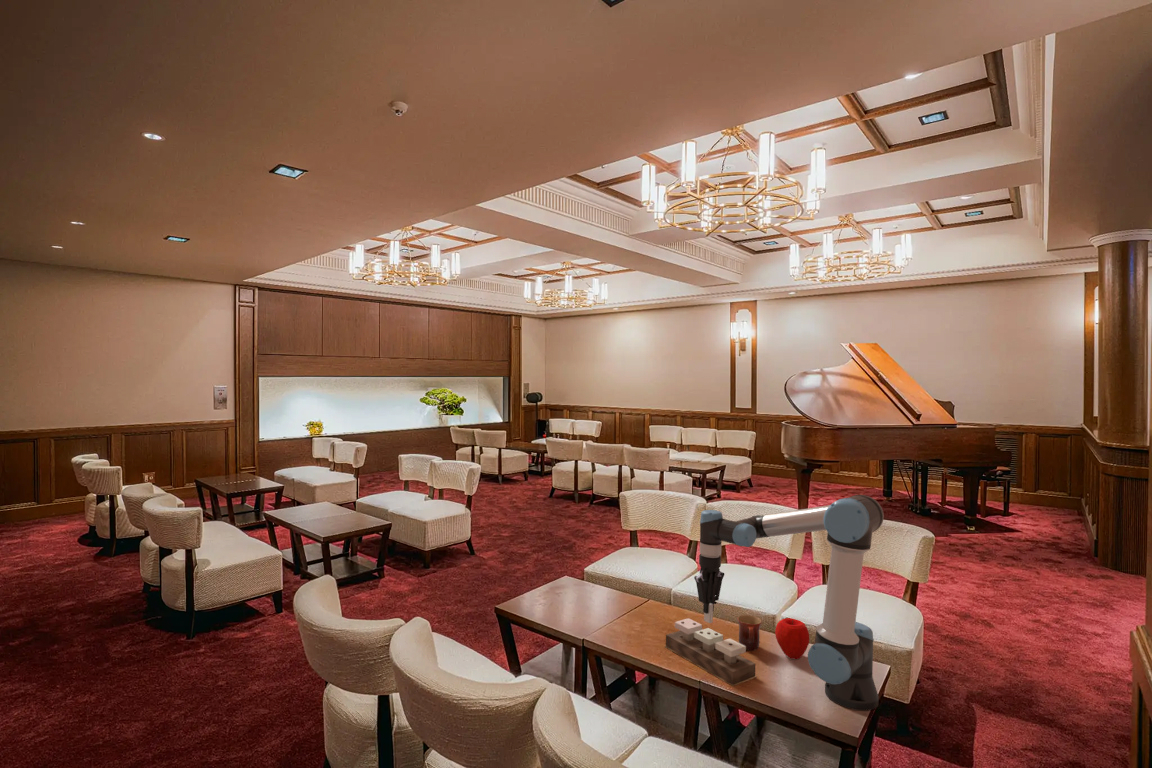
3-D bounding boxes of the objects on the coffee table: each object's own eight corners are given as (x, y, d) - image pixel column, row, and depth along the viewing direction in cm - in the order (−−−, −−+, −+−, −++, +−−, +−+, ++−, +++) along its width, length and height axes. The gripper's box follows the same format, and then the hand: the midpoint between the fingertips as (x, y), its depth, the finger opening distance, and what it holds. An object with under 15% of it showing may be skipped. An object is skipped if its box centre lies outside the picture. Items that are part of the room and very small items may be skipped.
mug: (735, 640, 216) (736, 613, 216) (759, 643, 214) (760, 616, 214) (738, 655, 204) (739, 626, 204) (763, 657, 202) (764, 629, 203)
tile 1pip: (745, 665, 189) (745, 645, 190) (731, 670, 186) (731, 650, 186) (729, 656, 195) (729, 637, 195) (715, 661, 192) (715, 642, 192)
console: (756, 677, 188) (756, 663, 188) (732, 686, 182) (733, 672, 182) (687, 639, 216) (687, 628, 216) (664, 646, 209) (664, 634, 209)
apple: (767, 650, 208) (768, 614, 208) (795, 647, 211) (796, 612, 211) (787, 666, 197) (788, 627, 197) (816, 662, 200) (817, 624, 200)
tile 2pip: (701, 642, 206) (702, 624, 206) (687, 646, 202) (688, 628, 203) (688, 635, 212) (688, 617, 212) (674, 639, 208) (674, 621, 208)
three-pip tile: (722, 653, 198) (723, 634, 198) (708, 658, 194) (709, 638, 194) (708, 645, 204) (708, 627, 204) (693, 650, 200) (694, 631, 200)
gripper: (715, 549, 206) (713, 614, 206) (689, 554, 199) (687, 621, 199) (731, 555, 200) (729, 621, 200) (704, 560, 193) (702, 629, 193)
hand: (708, 621), depth 199 cm, fingers closed
